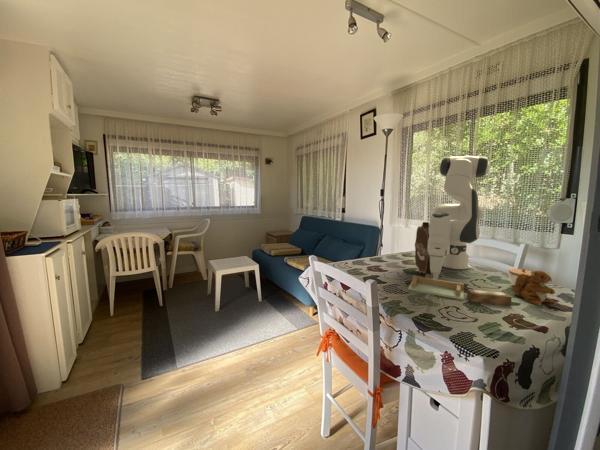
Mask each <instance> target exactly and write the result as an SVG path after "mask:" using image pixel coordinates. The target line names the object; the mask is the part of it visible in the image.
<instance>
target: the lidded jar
mask: <svg viewBox="0 0 600 450" xmlns="http://www.w3.org/2000/svg"><path fill="white" fill-rule="evenodd" d="M531 271H532V270H527V269H526V268H522V269H521V268H511V269H508V279H509V282H510V283H511V285H512V286H514V285H515V282H516V279H517V277H518V276H519V275H521V274H527V275H528V276H532V274H531Z"/></svg>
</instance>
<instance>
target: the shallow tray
mask: <svg viewBox="0 0 600 450" xmlns="http://www.w3.org/2000/svg"><path fill="white" fill-rule="evenodd" d="M407 289H408V291H414V292H419V293H423V294H428V295H433V296H434V295H435V296H439V297H444V298H451V299H455V300H459V301H460V300H461V301H464V299H465V297H464V291H465V290H464V289H465V283H464V282H463V283H462V282H456V281H450V280H443V279H438V281H435V280H433V278H431V277H426V276H420V275H414V274H413V275H412V276H411V282H410V284H409V285H408V288H407Z"/></svg>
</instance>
